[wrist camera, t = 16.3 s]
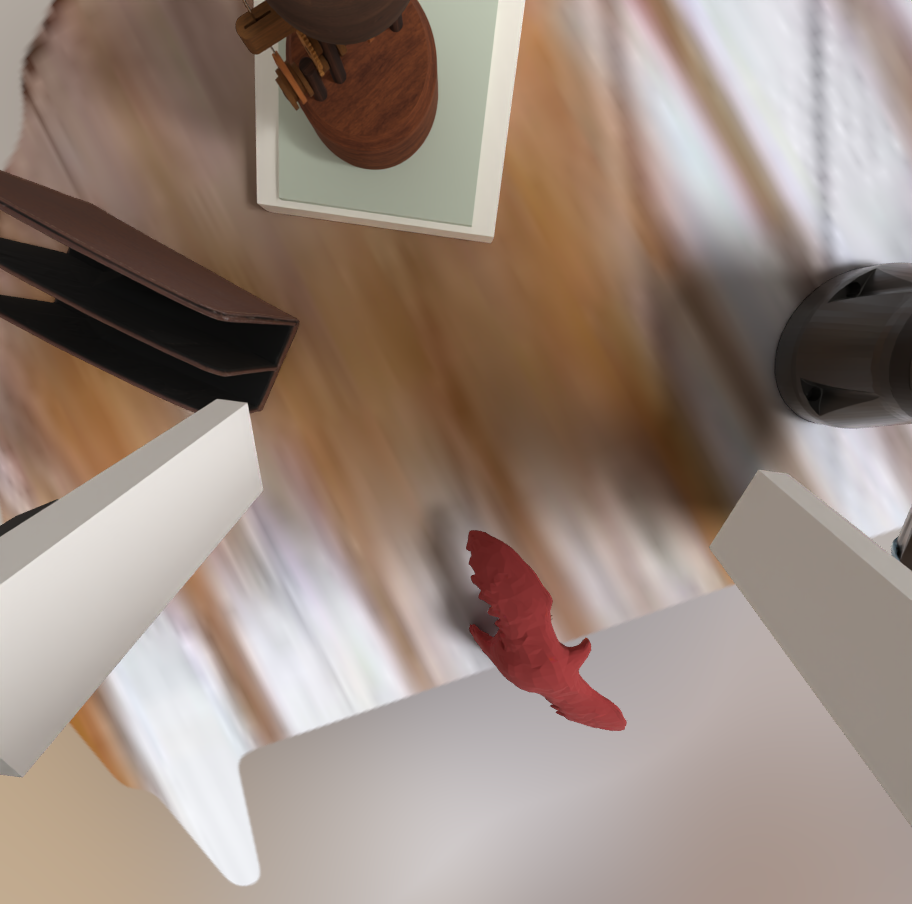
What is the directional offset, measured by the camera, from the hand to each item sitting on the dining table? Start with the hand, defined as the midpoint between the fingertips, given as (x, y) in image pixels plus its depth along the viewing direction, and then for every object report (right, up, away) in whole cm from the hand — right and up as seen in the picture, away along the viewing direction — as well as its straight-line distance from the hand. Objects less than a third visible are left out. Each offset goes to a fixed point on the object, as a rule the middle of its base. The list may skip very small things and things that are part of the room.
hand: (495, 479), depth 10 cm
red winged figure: (+6, -18, +35) cm, 40 cm away
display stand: (-7, +30, +21) cm, 38 cm away
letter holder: (-27, +14, +26) cm, 40 cm away
